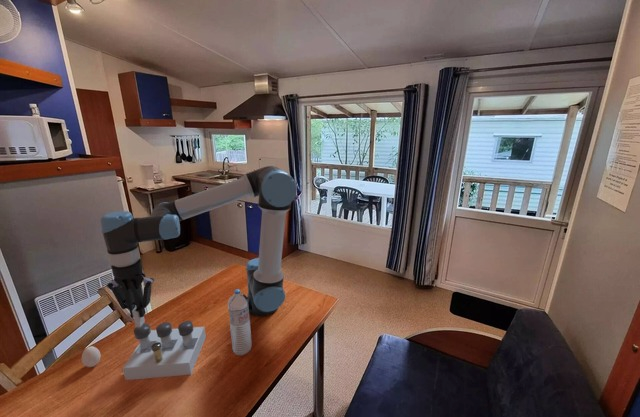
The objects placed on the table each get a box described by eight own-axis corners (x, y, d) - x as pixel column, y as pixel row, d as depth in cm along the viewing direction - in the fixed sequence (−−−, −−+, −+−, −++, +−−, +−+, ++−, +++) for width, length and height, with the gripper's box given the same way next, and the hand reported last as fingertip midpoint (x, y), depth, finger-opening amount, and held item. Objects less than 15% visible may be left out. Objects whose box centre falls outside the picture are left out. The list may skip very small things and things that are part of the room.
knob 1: (155, 340, 91) (151, 323, 89) (149, 350, 87) (145, 332, 85) (142, 341, 91) (138, 324, 89) (135, 351, 87) (130, 333, 85)
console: (205, 337, 100) (204, 326, 99) (191, 374, 85) (189, 362, 84) (150, 341, 98) (148, 330, 96) (125, 380, 83) (122, 368, 81)
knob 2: (196, 337, 93) (194, 320, 91) (192, 347, 89) (189, 329, 87) (184, 338, 92) (181, 321, 90) (179, 348, 88) (175, 330, 86)
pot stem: (165, 356, 86) (162, 341, 84) (161, 363, 83) (158, 348, 81) (156, 357, 85) (153, 342, 84) (152, 363, 83) (149, 349, 81)
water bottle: (234, 359, 91) (228, 299, 84) (231, 345, 97) (225, 287, 89) (253, 352, 94) (249, 293, 87) (249, 339, 100) (245, 282, 92)
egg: (85, 363, 88) (79, 346, 86) (103, 357, 91) (97, 340, 89) (83, 373, 85) (77, 356, 83) (102, 366, 87) (96, 349, 85)
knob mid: (176, 338, 92) (173, 321, 90) (171, 348, 88) (167, 331, 86) (163, 339, 92) (159, 322, 90) (157, 349, 88) (153, 332, 85)
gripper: (154, 254, 84) (166, 315, 91) (111, 256, 82) (126, 317, 89) (142, 266, 77) (155, 331, 84) (94, 268, 75) (112, 334, 82)
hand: (140, 324), depth 86 cm, fingers closed
